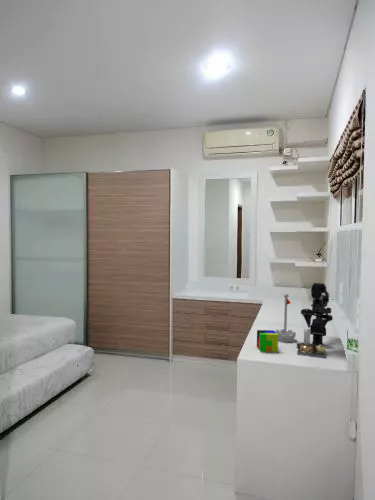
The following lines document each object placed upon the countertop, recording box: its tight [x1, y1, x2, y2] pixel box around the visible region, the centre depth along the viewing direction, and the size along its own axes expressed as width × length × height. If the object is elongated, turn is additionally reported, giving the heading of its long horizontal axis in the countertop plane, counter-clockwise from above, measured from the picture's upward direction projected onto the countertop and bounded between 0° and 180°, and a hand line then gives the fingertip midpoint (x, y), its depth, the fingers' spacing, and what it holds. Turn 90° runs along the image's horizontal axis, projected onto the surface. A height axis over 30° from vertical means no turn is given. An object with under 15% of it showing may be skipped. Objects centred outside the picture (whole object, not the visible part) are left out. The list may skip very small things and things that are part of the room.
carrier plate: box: [296, 342, 327, 359], centre depth 215 cm, size 12×16×5 cm
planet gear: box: [300, 328, 314, 352], centre depth 216 cm, size 8×7×12 cm
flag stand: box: [274, 293, 297, 343], centre depth 241 cm, size 13×13×30 cm
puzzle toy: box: [256, 329, 279, 353], centre depth 221 cm, size 10×10×10 cm
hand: (315, 329), depth 220 cm, fingers open, 9 cm apart
